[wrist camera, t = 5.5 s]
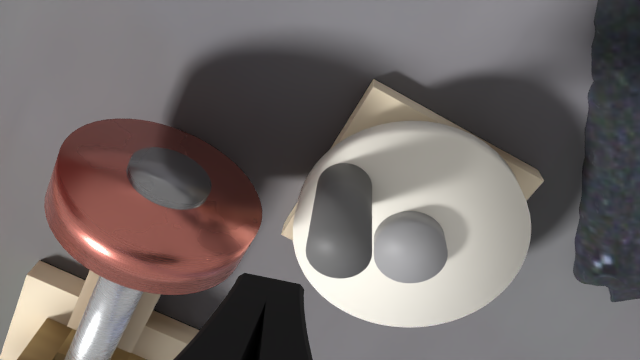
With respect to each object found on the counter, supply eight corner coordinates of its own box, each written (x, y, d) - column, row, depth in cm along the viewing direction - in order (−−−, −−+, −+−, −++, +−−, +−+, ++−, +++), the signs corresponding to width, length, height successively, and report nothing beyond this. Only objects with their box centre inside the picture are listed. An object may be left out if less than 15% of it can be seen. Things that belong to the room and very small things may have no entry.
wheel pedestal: (538, 170, 20) (549, 191, 19) (430, 294, 23) (433, 319, 22) (373, 79, 19) (373, 93, 17) (284, 223, 22) (278, 245, 21)
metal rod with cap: (279, 170, 20) (243, 284, 15) (146, 402, 27) (88, 537, 22) (116, 88, 19) (11, 177, 14) (22, 352, 26) (-71, 480, 21)
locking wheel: (410, 70, 17) (422, 131, 13) (572, 223, 19) (624, 315, 15) (252, 224, 20) (222, 310, 16) (405, 339, 22) (411, 439, 18)
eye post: (262, 235, 22) (226, 354, 17) (161, 403, 28) (110, 533, 23) (77, 146, 21) (-28, 244, 16) (11, 342, 27) (-82, 464, 21)
